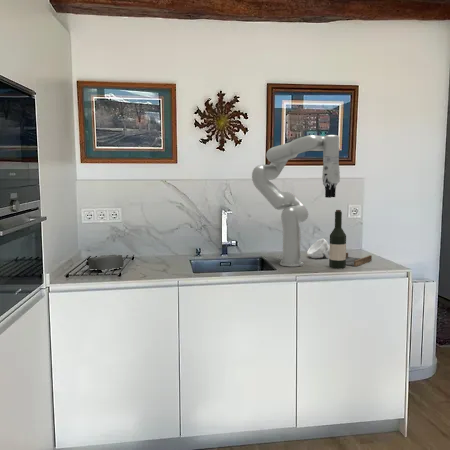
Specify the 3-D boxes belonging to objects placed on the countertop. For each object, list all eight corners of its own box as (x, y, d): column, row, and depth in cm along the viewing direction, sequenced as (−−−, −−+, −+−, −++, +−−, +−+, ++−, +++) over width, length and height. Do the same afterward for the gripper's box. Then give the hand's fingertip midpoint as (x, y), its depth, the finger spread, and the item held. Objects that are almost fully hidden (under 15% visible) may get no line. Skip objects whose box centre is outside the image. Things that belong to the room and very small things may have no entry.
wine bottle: (346, 268, 228) (347, 210, 225) (329, 268, 230) (330, 210, 227) (345, 265, 237) (346, 209, 233) (329, 264, 238) (329, 209, 235)
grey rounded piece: (117, 265, 243) (117, 251, 242) (127, 268, 235) (127, 254, 234) (85, 270, 231) (85, 256, 230) (95, 274, 223) (94, 259, 222)
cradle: (329, 263, 243) (330, 257, 242) (346, 257, 258) (346, 252, 257) (355, 266, 233) (355, 261, 233) (371, 260, 248) (371, 255, 247)
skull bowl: (339, 256, 256) (329, 238, 253) (320, 269, 254) (309, 252, 252) (332, 252, 266) (322, 236, 263) (313, 266, 265) (302, 249, 262)
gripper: (329, 159, 212) (329, 198, 214) (345, 160, 224) (344, 196, 226) (315, 160, 216) (315, 197, 219) (331, 160, 229) (331, 196, 231)
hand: (330, 196), depth 222 cm, fingers open, 3 cm apart
